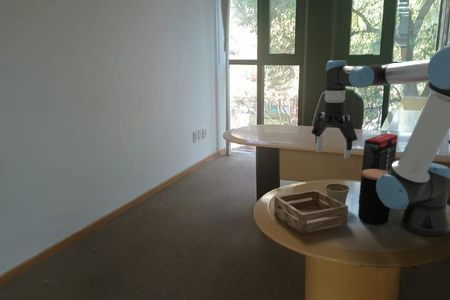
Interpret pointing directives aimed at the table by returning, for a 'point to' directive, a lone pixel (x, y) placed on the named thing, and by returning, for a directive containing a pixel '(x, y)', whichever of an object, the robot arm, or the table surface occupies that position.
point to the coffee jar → (372, 199)
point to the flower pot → (337, 192)
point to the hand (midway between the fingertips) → (332, 154)
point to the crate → (310, 211)
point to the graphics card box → (379, 152)
